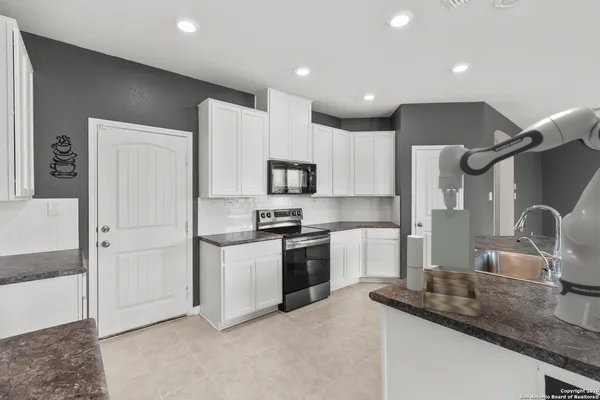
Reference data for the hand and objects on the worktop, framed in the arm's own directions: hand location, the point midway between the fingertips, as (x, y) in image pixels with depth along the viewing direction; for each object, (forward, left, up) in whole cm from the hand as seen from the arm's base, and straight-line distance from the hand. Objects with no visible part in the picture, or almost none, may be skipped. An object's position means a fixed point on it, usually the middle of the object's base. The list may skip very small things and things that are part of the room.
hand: (449, 217), depth 118 cm
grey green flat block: (0, 0, -21) cm, 21 cm away
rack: (0, +4, -36) cm, 36 cm away
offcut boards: (0, +7, -36) cm, 36 cm away
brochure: (-4, -21, -36) cm, 42 cm away
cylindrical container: (+14, -10, -36) cm, 40 cm away
